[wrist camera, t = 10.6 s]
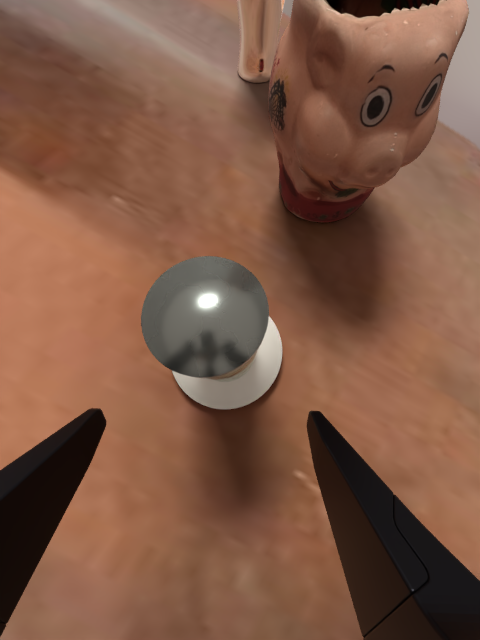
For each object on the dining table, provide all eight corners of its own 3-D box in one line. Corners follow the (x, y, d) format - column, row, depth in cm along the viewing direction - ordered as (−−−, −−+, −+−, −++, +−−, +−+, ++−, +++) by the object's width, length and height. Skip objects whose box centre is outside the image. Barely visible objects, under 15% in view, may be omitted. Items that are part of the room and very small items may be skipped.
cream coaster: (289, 312, 21) (290, 309, 20) (269, 421, 18) (270, 423, 17) (191, 291, 22) (189, 287, 21) (157, 392, 19) (153, 392, 18)
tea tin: (269, 339, 19) (292, 292, 10) (234, 396, 18) (222, 406, 8) (216, 308, 20) (191, 237, 11) (180, 359, 19) (114, 330, 9)
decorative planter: (245, 133, 29) (244, -87, 15) (333, 118, 29) (407, -109, 16) (286, 262, 23) (344, 85, 9) (397, 240, 23) (601, 41, 10)
